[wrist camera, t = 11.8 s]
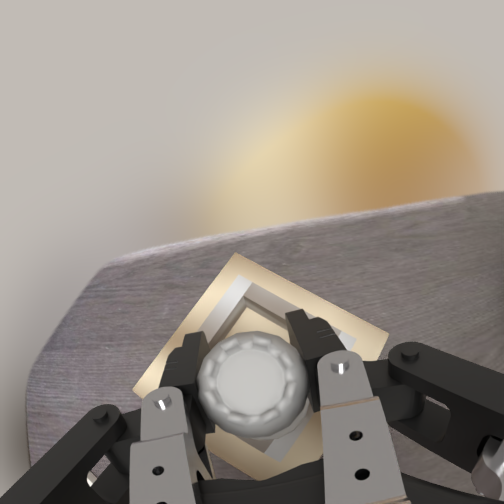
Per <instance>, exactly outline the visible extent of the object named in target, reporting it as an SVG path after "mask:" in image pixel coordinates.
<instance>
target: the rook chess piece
mask: <svg viewBox="0 0 504 504" xmlns="http://www.w3.org/2000/svg"><path fill="white" fill-rule="evenodd" d="M197 387H198V399H199V401H200V403H201V405H202V407H203V409H204V411H205V413H206V415H207V417H208V418H209V419H210V420H211V421H213V422H214V423H215V424H216V425H217V426H219V427H220V428H221V429H222V430H223V431H225V432H227V433H231V434H234V435H237V436H240V437H244V438H251V439H255V440H259V441H261V440H271V439H279V438H280V437H282V436H284V435H286V434H288V433H290V432H292V431H294V430H295V429H296V427H297V426H298V425H299V424H300V423H301V421H302V420H303V419H304V418H305V416H306V413H307V409H308V406H309V402H310V401H309V399H308V393H309V389H310V383H309V376H308V371H307V367H306V364H305V362H304V361H303V359H302V357H301V356H300V354H299V353H298V351H297V349H296V348H295V347H293V346H292V345H291V344H289V343H288V342H286V341H285V340H284V339H282V338H281V337H279V336H277V335H273V334H269V333H265V332H261V331H251V332H242V333H236V334H234V335H232V336H230V337H228V338H226V339H224V340H222V341H220V342H218V343H217V344H216V345H215V346H214V348H213V349H212V350H211V351H210V352H209V353H208V354H207V355H206V357H205V358H204V359H203V362H202V365H201V368H200V371H199V374H198V376H197Z"/></svg>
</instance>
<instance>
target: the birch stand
mask: <svg viewBox="0 0 504 504" xmlns="http://www.w3.org/2000/svg"><path fill="white" fill-rule="evenodd" d="M299 309H303V310H304V311H305V313H306V315H307V316H308V318H309V319H312V318H315V317H320V318H322V319H324V320H326V321H328V323H329V324H330V326H331V327H332V329H333V330H334V332H335V334H337V336H338V337H339V339H340V340H341V342H342V343H343V345H344V346H345V348H346V349H347V350H348V351H353V352H355V353H357V354H359V355H360V356H361V358H362V360H363V361H377V359H378V357H379V355H380V353H381V351H382V349H383V347H384V345H385V343H386V340H387V338H388V336H389V333H387V332H385V331H383V330H381V329H379V328H377V327H375V326H373V325H371V324H370V323H368V322H366V321H364V320H362V319H360V318H358V317H356V316H354V315H352V314H350V313H349V312H347V311H345V310H343V309H341V308H339V307H337V306H335V305H333V304H332V303H330V302H328V301H326V300H324V299H322V298H320V297H318V296H316V295H314V294H313V293H311V292H309V291H307V290H305V289H303V288H301V287H299V286H297V285H296V284H294V283H292V282H290V281H288V280H286V279H284V278H282V277H281V276H279V275H277V274H275V273H273V272H271V271H269V270H267V269H266V268H264V267H262V266H260V265H258V264H256V263H254V262H252V261H251V260H249V259H247V258H245V257H243V256H241V255H239V254H238V253H236V252H235V254H234V255H233V256H232V258H231V259H230V260H229V261H228V263H227V264H226V265H225V267H224V268H223V269H222V271H221V272H220V273H219V275H218V276H217V277H216V279H215V280H214V281H213V282H212V284H211V285H210V286H209V288H208V289H207V290H206V292H205V293H204V294H203V296H202V297H201V298H200V300H199V301H198V302H197V304H196V305H195V306H194V308H193V309H192V310H191V312H190V313H189V314H188V316H187V317H186V318H185V320H184V321H183V322H182V324H181V325H180V326H179V328H178V329H177V330H176V332H175V333H174V334H173V336H172V337H171V338H170V340H169V341H168V342H167V344H166V345H165V346H164V348H163V349H162V350H161V352H160V353H159V354H158V356H157V357H156V358H155V360H154V361H153V362H152V364H151V365H150V367H149V368H148V369H147V371H146V372H145V373H144V375H143V376H142V377H141V379H140V380H139V381H138V383H137V384H136V385H135V387H134V388H133V391H134V392H135V393H136V394H138V395H139V396H140V397H141V398H142V399H144V397H145V396H146V395H147V394H148V393H150V392H151V391H153V390H155V389H158V387H159V384H160V380H161V377H162V374H163V371H164V367H165V364H166V361H167V358H168V355H169V354H170V353H171V352H172V351H173V350H174V348H177V347H182V343H183V340H184V336H185V334H188V333H194V332H199V331H203V332H204V333H205V336H206V339H207V342H208V345H209V348H210V351H211V350H212V349H213V348H214V346H215V345H216V344H217V343H218V342H220V341H222V340H224V339H226V338H228V337H230V336H232V335H234V334H236V333H242V332H251V331H261V332H265V333H269V334H273V335H277V336H279V337H281V338H282V339H284V340H285V341H286V342H288V343H289V344H290V339H289V334H288V329H287V324H286V318H285V313H287V312H291V311H295V310H299ZM205 443H206V445H207V447H208V450H209V451H211V452H212V453H214V454H215V455H217V456H218V457H220V458H221V459H223V460H224V461H226V462H227V463H229V464H231V465H232V466H234V467H235V468H237V469H239V470H240V471H242V472H244V473H245V474H247V475H249V476H250V477H252V478H254V479H256V480H257V481H261V480H266V479H268V478H271V477H273V476H276V475H278V474H281V473H283V472H285V471H288V470H290V469H292V468H295V467H297V466H299V465H301V464H305V463H309V462H313V461H317V460H319V458H320V457H321V455H322V454H323V440H322V425H321V411H319V412H315V413H314V412H313V410H312V407H311V404H310V402H309V406H308V409H307V413H306V416H305V418H304V419H303V420H302V421H301V423H300V424H299V425H298V426H297V427H296V429H295V430H294V431H292V432H290V433H288V434H286V435H284V436H282V437H280V438H279V439H271V440H261V441H259V440H255V439H251V438H244V437H240V436H237V435H234V434H231V433H227V432H225V431H223V430H222V429H221V428H220V427H219V426H217V425H216V424H215V433H210V434H206V439H205Z"/></svg>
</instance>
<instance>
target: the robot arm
mask: <svg viewBox="0 0 504 504" xmlns="http://www.w3.org/2000/svg"><path fill="white" fill-rule="evenodd" d="M285 318H286V324H287V329H288V334H289V339H290V344H291V345H292V346H293V347H295V348H296V349H297V351H298V353H299V354H300V356H301V357H302V359H303V361H304V362H305V364H306V367H307V371H308V376H309V383H310V389H309V393H308V399H309V401H310V404H311V407H312V410H313V412H314V413H315V412H319V411H321V425H322V440H323V458H324V459H320V460H317V461H313V462H309V463H305V464H301V465H299V466H297V467H295V468H292V469H290V470H288V471H285V472H283V473H281V474H278V475H276V476H273V477H271V478H268V479H266V480H261V481H254V480H235V479H216V476H215V473H214V469H213V465H212V461H211V458H210V454H209V450H208V447H207V445H206V443H205V439H206V434H210V433H215V423H214V422H213V421H211V420H210V419H209V418H208V417H207V415H206V413H205V411H204V409H203V407H202V405H201V403H200V401H199V399H198V387H197V376H198V374H199V371H200V368H201V365H202V362H203V359H204V358H205V357H206V355H207V354H208V353H209V352H210V348H209V345H208V342H207V339H206V336H205V333H204V332H203V331H199V332H194V333H188V334H185V336H184V340H183V343H182V347H177V348H174V350H173V351H172V352H171V353H170V354H169V355H168V358H167V361H166V364H165V367H164V371H163V374H162V377H161V380H160V384H159V387H158V389H155V390H153V391H151V392H150V393H148V394H147V395H146V396H145V397H144V399H143V401H142V406H141V409H138V410H135V411H132V412H128V413H125V414H121V412H120V411H119V409H118V408H117V407H116V406H114V405H111V404H105V405H100V406H97V407H95V408H93V409H92V410H90V411H89V412H88V413H87V414H86V415H85V416H84V417H83V418H82V419H81V420H80V421H79V422H78V423H77V424H76V425H75V426H74V427H72V428H71V429H70V430H69V431H68V432H67V433H66V434H65V435H64V436H63V437H62V438H61V439H60V440H59V441H58V442H57V443H56V444H55V445H54V446H53V447H52V448H51V449H50V450H49V451H48V452H47V453H46V454H45V455H44V456H43V457H42V458H41V459H40V460H39V461H38V462H37V463H35V464H34V465H33V466H32V467H31V468H30V469H29V470H28V471H27V472H26V473H25V474H24V475H23V476H22V477H21V478H20V479H19V480H18V481H17V482H16V483H15V484H14V485H13V486H12V487H11V488H10V489H9V490H8V491H7V492H6V493H5V494H4V495H3V496H2V497H1V498H0V504H504V374H502V373H499V372H496V371H494V370H491V369H488V368H485V367H483V366H480V365H477V364H475V363H472V362H469V361H467V360H464V359H461V358H459V357H456V356H453V355H451V354H448V353H445V352H443V351H440V350H438V349H435V348H432V347H430V346H427V345H425V344H422V343H418V342H405V343H401V344H399V345H397V346H395V347H393V348H392V349H391V350H390V352H389V354H388V359H385V360H377V361H363V360H362V358H361V356H360V355H359V354H357V353H355V352H353V351H348V350H347V349H346V348H345V346H344V345H343V343H342V342H341V340H340V339H339V337H338V336H337V334H335V332H334V330H333V329H332V327H331V326H330V324H329V323H328V321H326V320H324V319H322V318H320V317H315V318H312V319H309V318H308V316H307V315H306V313H305V311H304V310H303V309H299V310H295V311H291V312H287V313H285ZM426 395H427V396H429V397H431V398H433V399H435V400H437V401H439V402H441V403H443V404H445V405H446V406H447V407H448V408H449V410H450V411H449V410H447V409H445V408H443V407H441V406H439V405H437V404H435V403H433V402H431V401H429V400H427V399H426ZM387 424H388V425H389V426H391V427H392V428H394V429H395V430H397V431H399V432H400V433H402V434H404V435H405V436H407V437H408V438H410V439H412V440H413V441H415V442H417V443H418V444H420V445H422V446H423V447H425V448H427V449H429V450H430V451H432V452H434V453H435V454H437V455H439V456H441V457H442V458H444V459H446V460H448V461H449V462H451V463H453V464H455V465H457V466H458V467H460V468H462V469H464V470H466V471H468V472H470V473H471V479H472V483H473V485H474V486H475V487H476V491H477V493H479V494H481V495H484V496H485V497H482V496H477V495H473V494H469V493H465V492H461V491H457V490H454V489H450V488H447V487H443V486H440V485H437V484H433V483H430V482H427V481H424V480H421V479H418V478H415V477H412V476H410V475H407V474H404V473H401V472H400V469H399V465H398V461H397V457H396V454H395V450H394V446H393V443H392V439H391V435H390V432H389V428H388V425H387ZM104 454H105V456H106V457H107V458H108V459H109V461H110V462H111V463H110V464H109V465H108V467H107V468H106V469H105V470H104V471H103V472H102V474H101V475H100V476H99V477H98V478H97V480H96V481H95V482H94V483H93V484H92V485H91V487H90V486H89V484H88V482H87V475H88V473H89V471H90V470H91V469H92V468H93V467H94V466H95V465H96V463H97V462H98V461H99V460H100V459H101V458H102V457H103V455H104Z"/></svg>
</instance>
